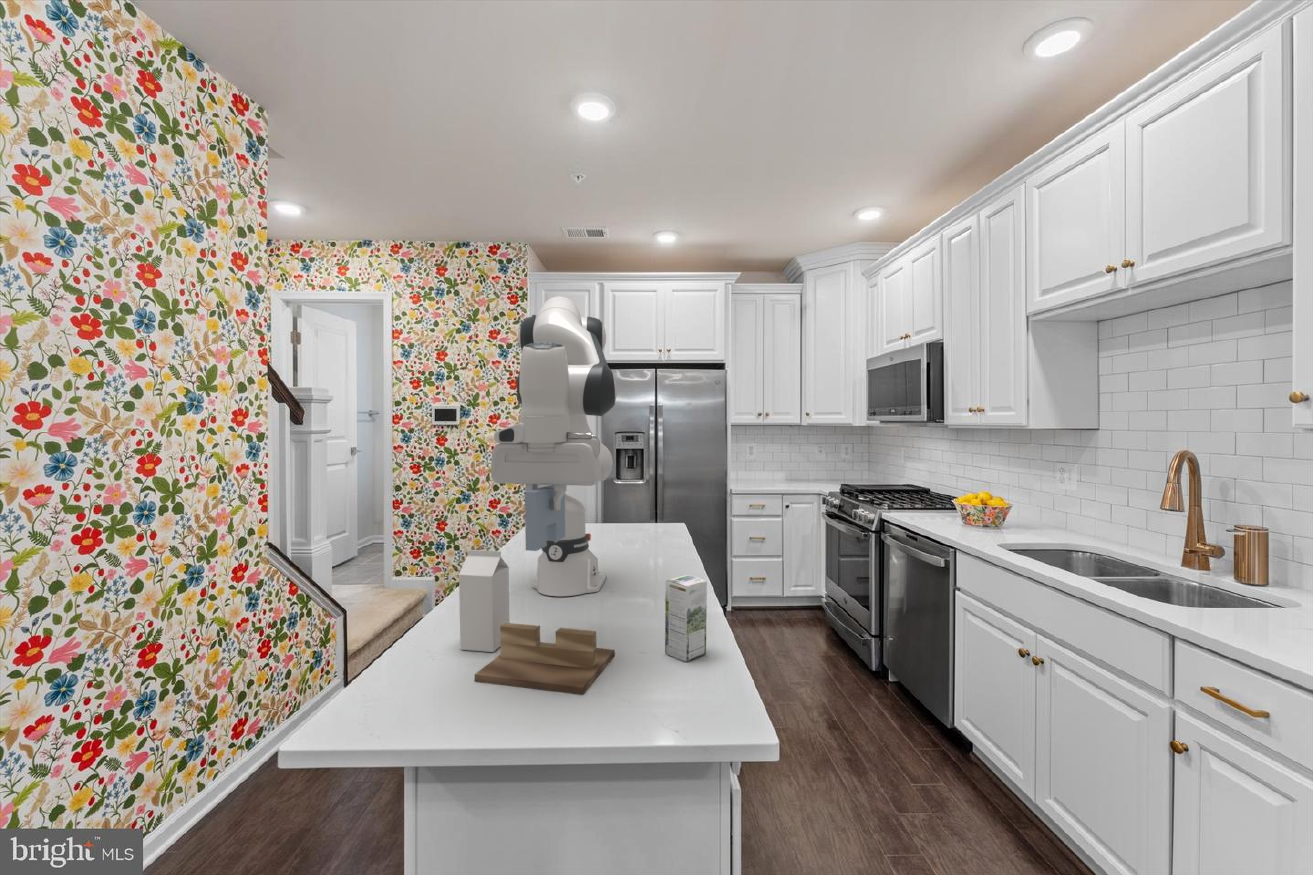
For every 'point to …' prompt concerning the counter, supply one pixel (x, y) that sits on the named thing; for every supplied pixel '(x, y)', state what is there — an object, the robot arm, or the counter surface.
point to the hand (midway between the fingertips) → (546, 509)
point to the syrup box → (685, 617)
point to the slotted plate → (543, 518)
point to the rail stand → (546, 660)
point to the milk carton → (483, 600)
